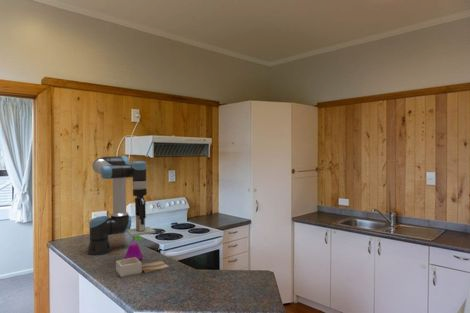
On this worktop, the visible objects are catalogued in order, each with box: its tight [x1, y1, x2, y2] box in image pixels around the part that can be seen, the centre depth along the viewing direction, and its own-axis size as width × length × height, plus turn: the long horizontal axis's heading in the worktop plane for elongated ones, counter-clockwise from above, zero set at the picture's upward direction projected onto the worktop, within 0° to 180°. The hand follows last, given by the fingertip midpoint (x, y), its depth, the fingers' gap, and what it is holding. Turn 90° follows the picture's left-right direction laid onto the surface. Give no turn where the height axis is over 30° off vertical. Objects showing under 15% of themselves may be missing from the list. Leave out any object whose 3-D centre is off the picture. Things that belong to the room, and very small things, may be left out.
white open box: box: [115, 257, 143, 278], centre depth 177 cm, size 11×11×6 cm
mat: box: [141, 259, 170, 274], centre depth 185 cm, size 14×14×1 cm
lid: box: [125, 215, 156, 237], centre depth 181 cm, size 13×13×9 cm
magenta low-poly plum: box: [123, 236, 144, 261], centre depth 198 cm, size 11×11×15 cm
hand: (140, 229), depth 181 cm, fingers closed on lid, 5 cm apart
